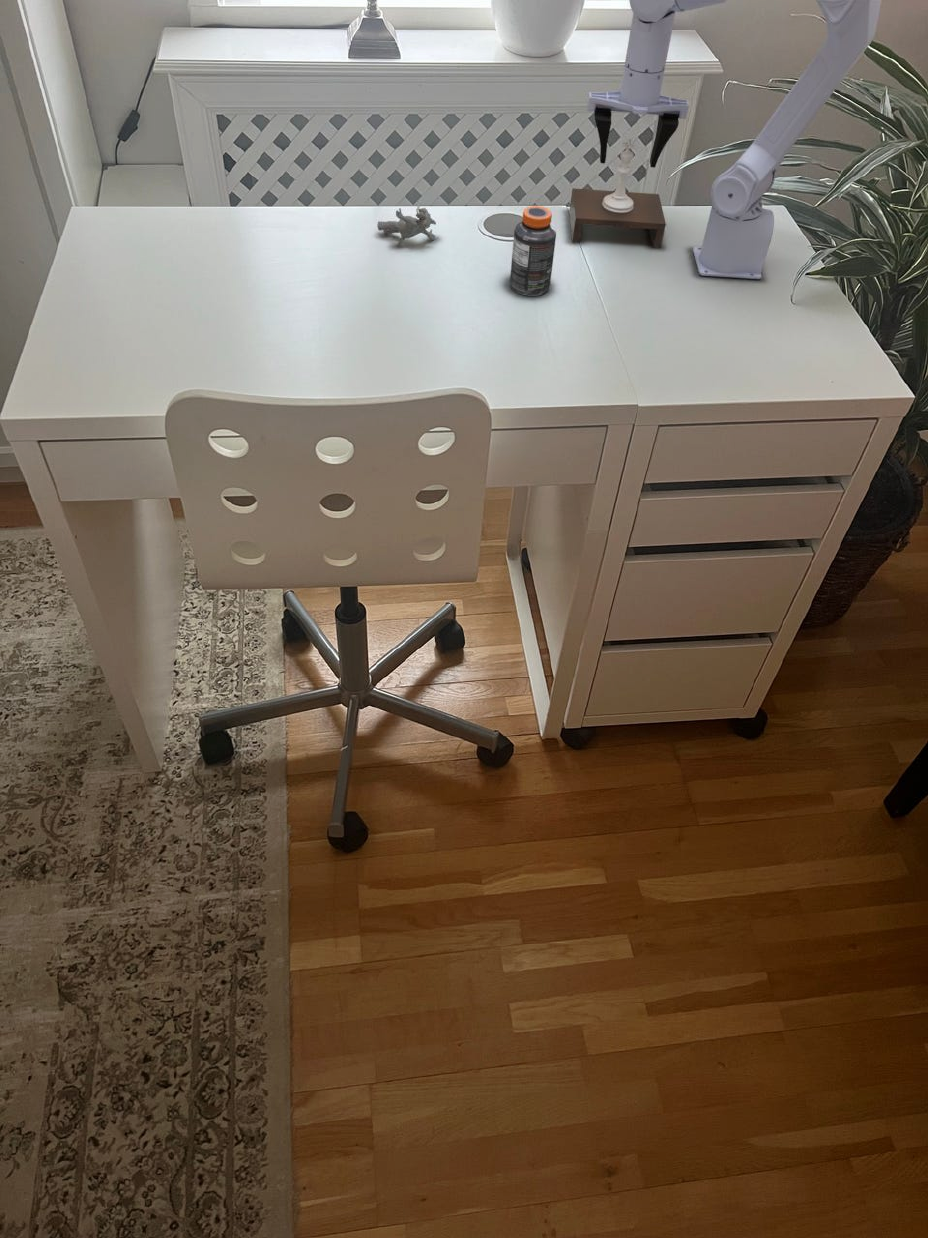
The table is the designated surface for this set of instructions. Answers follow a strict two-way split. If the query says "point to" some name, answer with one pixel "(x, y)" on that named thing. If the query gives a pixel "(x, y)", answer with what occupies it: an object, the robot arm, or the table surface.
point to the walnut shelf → (592, 212)
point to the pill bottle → (533, 252)
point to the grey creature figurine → (409, 225)
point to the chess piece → (621, 185)
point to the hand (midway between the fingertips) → (627, 162)
